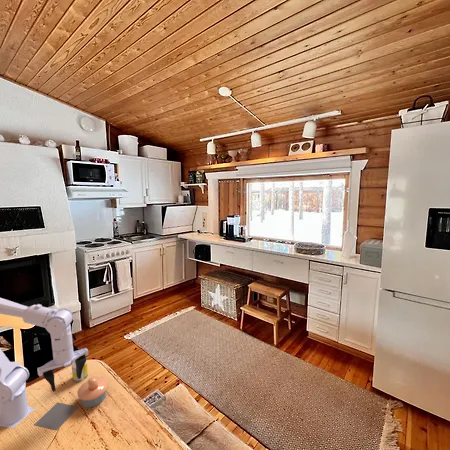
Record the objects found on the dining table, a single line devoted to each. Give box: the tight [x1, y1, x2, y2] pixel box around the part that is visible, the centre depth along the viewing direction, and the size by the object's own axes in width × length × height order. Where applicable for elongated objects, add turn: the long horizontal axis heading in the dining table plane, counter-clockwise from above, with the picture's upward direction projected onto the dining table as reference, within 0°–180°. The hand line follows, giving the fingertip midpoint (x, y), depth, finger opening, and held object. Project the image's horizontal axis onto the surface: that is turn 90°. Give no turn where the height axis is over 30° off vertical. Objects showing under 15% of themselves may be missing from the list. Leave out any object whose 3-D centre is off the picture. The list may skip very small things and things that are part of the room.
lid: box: [77, 376, 109, 401], centre depth 92 cm, size 10×10×4 cm
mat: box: [33, 402, 79, 431], centre depth 86 cm, size 9×9×1 cm
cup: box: [80, 391, 107, 408], centre depth 93 cm, size 8×8×4 cm
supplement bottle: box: [71, 359, 89, 383], centre depth 103 cm, size 5×5×10 cm
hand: (66, 383), depth 87 cm, fingers open, 7 cm apart
